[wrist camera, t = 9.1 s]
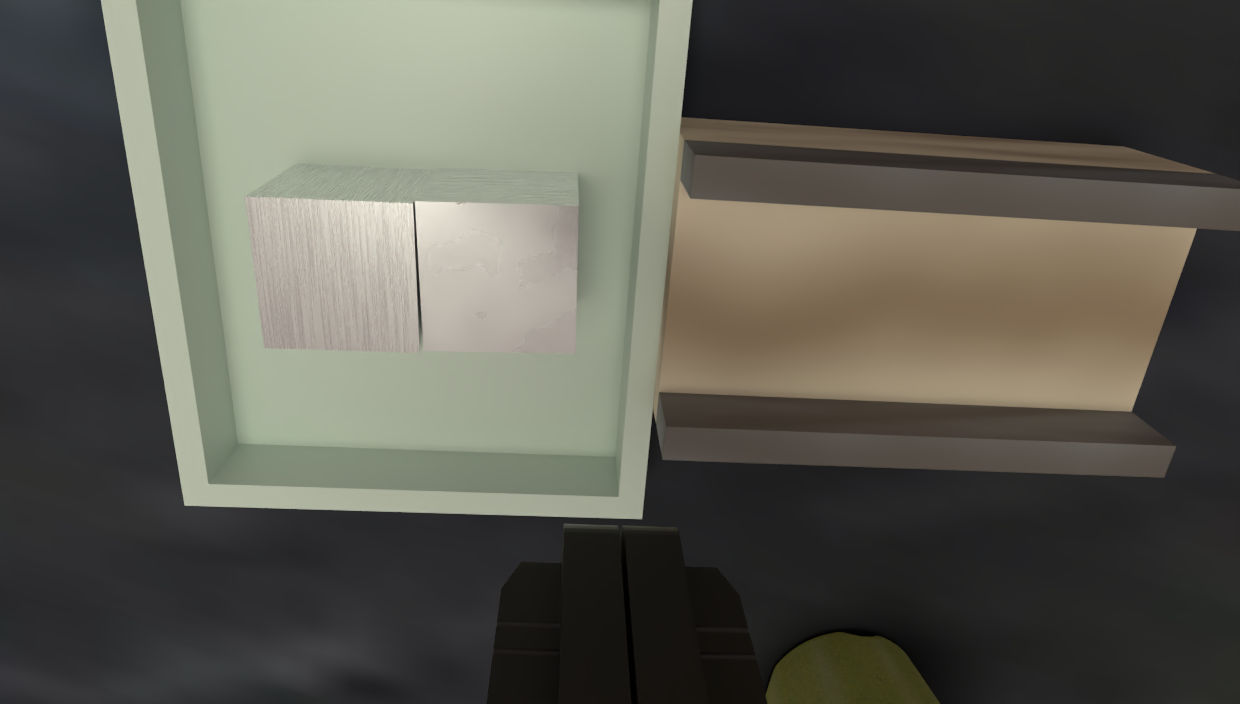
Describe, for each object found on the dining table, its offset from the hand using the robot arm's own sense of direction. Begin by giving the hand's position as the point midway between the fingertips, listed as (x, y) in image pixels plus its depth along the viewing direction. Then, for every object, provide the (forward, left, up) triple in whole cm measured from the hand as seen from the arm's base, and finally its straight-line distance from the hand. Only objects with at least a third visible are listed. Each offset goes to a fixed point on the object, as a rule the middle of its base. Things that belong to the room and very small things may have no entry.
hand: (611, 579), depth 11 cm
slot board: (0, +9, -16) cm, 18 cm away
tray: (0, -5, -16) cm, 17 cm away
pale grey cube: (0, -5, -13) cm, 14 cm away
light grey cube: (0, -2, -15) cm, 16 cm away
